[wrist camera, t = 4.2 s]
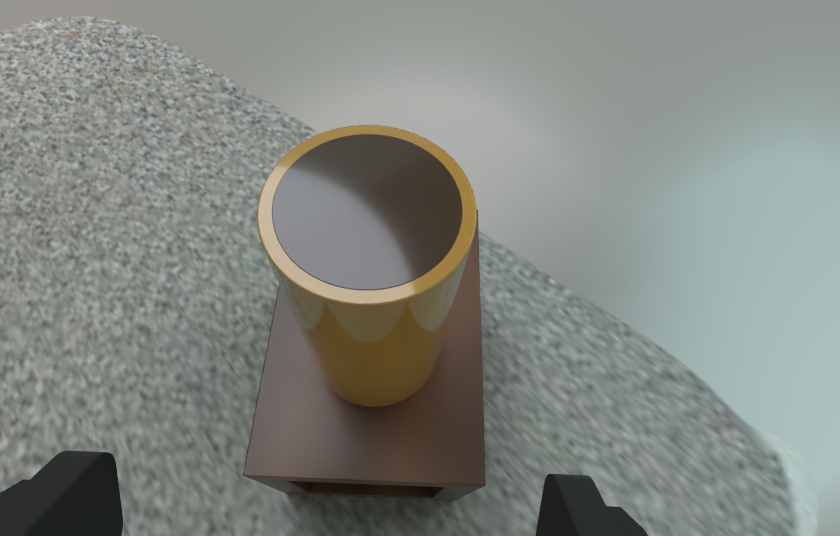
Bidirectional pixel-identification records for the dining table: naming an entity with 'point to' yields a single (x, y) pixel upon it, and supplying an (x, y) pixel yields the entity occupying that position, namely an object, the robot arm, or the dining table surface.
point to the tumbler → (369, 254)
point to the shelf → (373, 418)
